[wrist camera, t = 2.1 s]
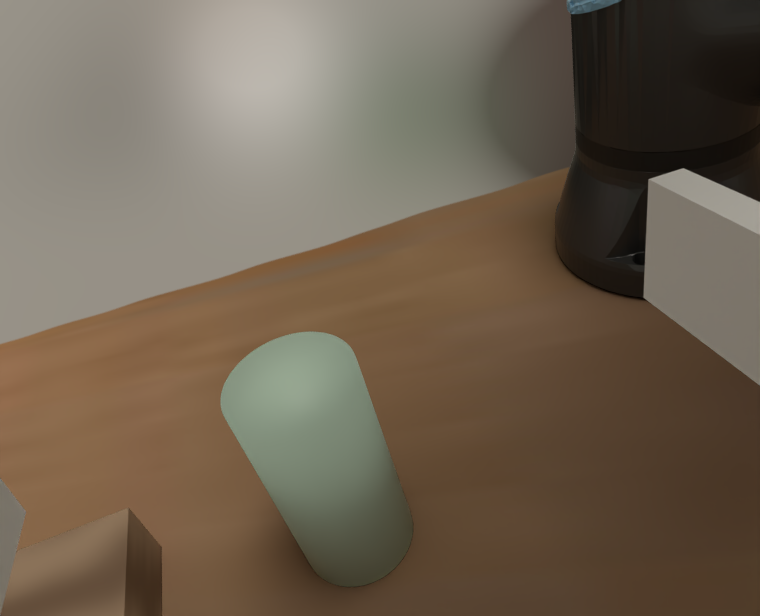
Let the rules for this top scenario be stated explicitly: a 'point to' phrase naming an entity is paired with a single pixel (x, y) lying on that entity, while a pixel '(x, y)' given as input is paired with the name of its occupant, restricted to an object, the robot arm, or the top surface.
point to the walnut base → (89, 572)
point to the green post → (321, 454)
